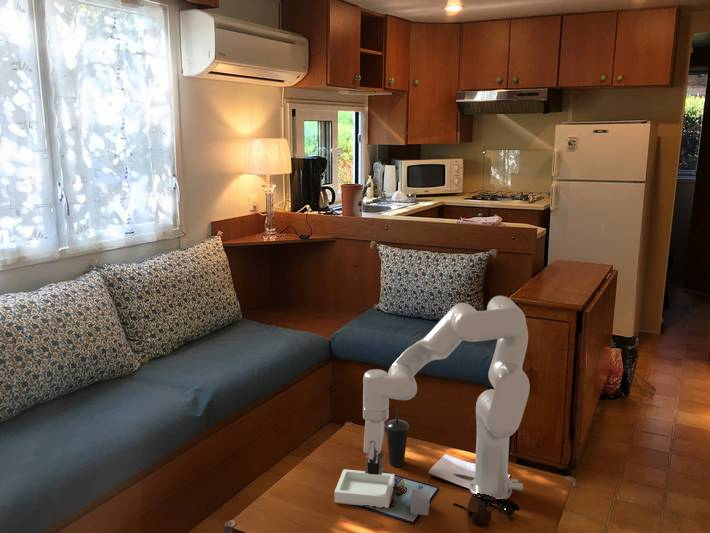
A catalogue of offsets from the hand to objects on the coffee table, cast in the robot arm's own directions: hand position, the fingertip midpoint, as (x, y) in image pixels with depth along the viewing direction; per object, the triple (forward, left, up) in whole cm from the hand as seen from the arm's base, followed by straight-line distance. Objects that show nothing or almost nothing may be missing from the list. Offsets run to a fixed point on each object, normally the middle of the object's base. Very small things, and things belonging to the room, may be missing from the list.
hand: (374, 468), depth 197 cm
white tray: (+3, 0, -9) cm, 9 cm away
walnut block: (0, 0, 0) cm, 0 cm away
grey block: (-14, +5, -9) cm, 17 cm away
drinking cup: (-4, -20, -9) cm, 22 cm away
